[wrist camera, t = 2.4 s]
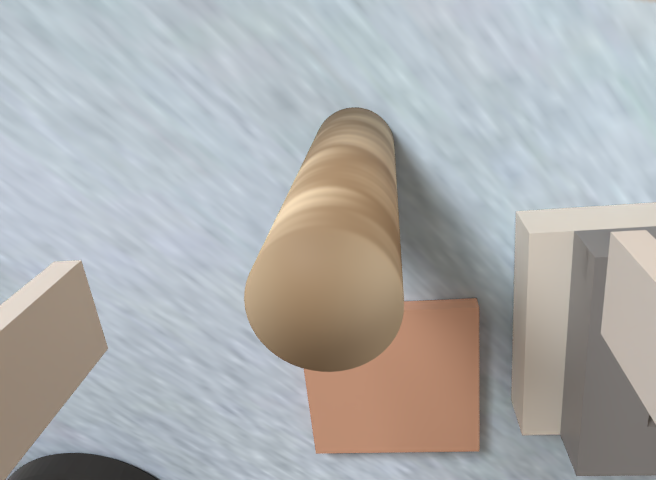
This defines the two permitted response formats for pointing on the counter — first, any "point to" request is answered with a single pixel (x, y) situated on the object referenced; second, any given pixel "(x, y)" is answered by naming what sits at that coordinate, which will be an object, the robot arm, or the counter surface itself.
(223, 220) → the counter surface
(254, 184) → the counter surface
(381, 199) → the wooden cylinder
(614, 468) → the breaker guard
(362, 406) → the rest tile
